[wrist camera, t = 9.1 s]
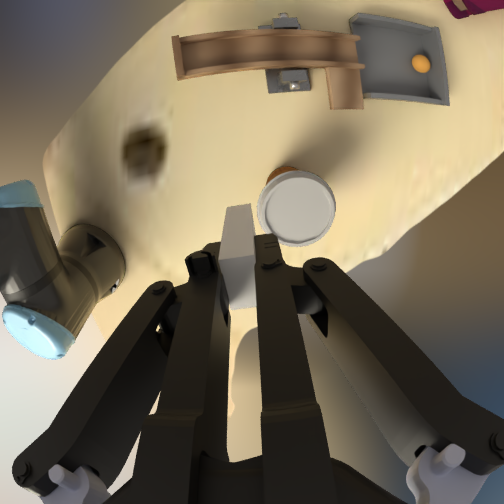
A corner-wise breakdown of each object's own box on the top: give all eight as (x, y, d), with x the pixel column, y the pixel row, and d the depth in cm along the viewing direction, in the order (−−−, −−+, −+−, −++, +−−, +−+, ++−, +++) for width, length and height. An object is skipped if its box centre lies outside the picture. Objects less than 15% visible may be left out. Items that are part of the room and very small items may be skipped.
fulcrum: (268, 93, 35) (271, 90, 29) (258, 27, 30) (259, 13, 24) (309, 90, 35) (320, 87, 29) (299, 25, 29) (307, 11, 24)
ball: (433, 74, 30) (416, 73, 32) (431, 56, 28) (414, 56, 30) (428, 71, 28) (410, 71, 30) (425, 52, 27) (407, 52, 29)
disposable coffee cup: (250, 209, 44) (250, 243, 33) (262, 150, 39) (266, 165, 29) (308, 219, 45) (325, 256, 34) (323, 163, 40) (348, 183, 30)
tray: (361, 98, 35) (374, 97, 30) (348, 19, 28) (360, 10, 24) (432, 104, 34) (449, 105, 30) (422, 32, 27) (438, 27, 23)
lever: (185, 127, 30) (185, 127, 27) (172, 44, 25) (171, 36, 22) (359, 109, 33) (374, 109, 30) (350, 39, 28) (364, 34, 25)
